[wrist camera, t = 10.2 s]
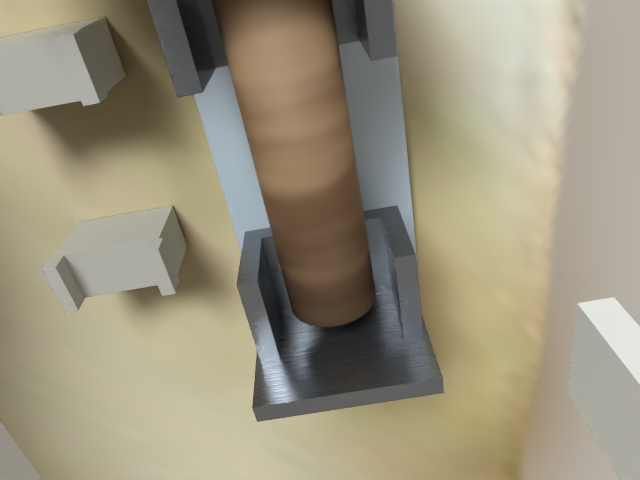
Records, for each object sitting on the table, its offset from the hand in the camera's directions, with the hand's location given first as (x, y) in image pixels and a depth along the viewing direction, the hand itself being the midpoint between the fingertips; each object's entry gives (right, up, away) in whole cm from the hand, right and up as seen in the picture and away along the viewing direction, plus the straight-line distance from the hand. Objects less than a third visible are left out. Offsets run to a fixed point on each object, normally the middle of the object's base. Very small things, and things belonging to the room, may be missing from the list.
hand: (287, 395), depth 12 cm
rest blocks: (-12, +8, +19) cm, 24 cm away
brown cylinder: (0, +8, +14) cm, 16 cm away
